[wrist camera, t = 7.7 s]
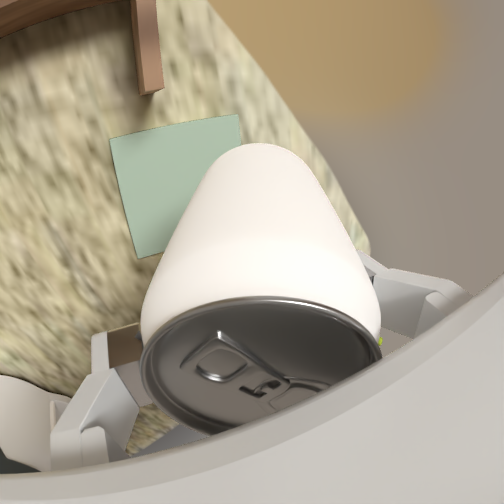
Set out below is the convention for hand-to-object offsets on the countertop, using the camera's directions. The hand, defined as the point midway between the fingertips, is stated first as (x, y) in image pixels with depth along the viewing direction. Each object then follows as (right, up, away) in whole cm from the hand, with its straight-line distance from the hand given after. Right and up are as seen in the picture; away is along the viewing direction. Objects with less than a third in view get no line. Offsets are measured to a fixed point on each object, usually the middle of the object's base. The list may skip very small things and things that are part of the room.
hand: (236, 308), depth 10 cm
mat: (-5, +8, +17) cm, 19 cm away
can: (+1, +5, +8) cm, 9 cm away
